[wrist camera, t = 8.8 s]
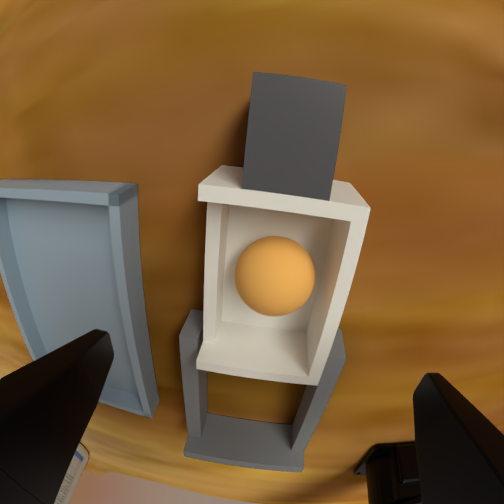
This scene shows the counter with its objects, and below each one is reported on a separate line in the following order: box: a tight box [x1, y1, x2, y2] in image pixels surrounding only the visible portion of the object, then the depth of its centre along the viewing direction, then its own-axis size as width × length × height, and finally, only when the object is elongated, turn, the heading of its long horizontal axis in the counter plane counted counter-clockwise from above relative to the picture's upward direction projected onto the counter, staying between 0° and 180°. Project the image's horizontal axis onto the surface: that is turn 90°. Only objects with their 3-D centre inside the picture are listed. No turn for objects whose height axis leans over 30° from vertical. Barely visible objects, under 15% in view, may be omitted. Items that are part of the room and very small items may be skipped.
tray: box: [0, 179, 160, 418], centre depth 18 cm, size 17×11×2 cm, turn 174°
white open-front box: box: [196, 72, 371, 386], centre depth 13 cm, size 13×6×4 cm, turn 174°
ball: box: [235, 236, 315, 316], centre depth 14 cm, size 4×4×4 cm
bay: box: [179, 309, 346, 472], centre depth 18 cm, size 12×9×4 cm
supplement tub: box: [54, 443, 89, 504], centre depth 25 cm, size 10×10×15 cm
